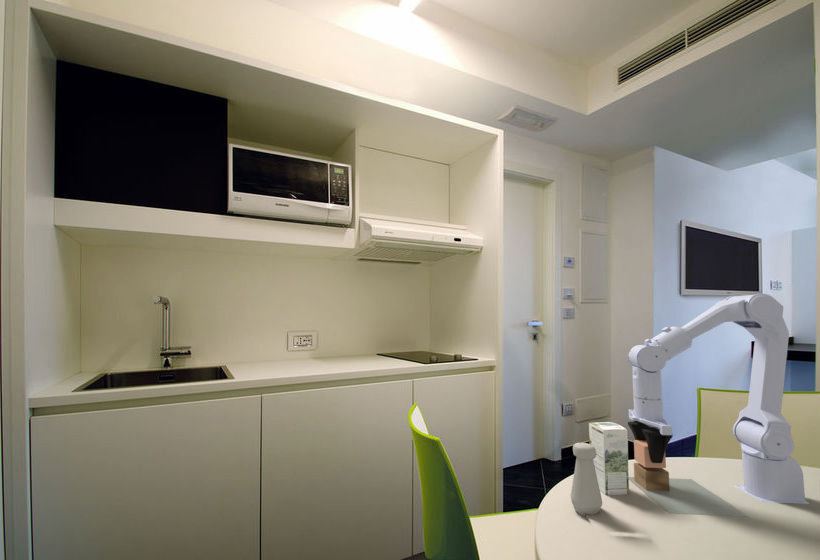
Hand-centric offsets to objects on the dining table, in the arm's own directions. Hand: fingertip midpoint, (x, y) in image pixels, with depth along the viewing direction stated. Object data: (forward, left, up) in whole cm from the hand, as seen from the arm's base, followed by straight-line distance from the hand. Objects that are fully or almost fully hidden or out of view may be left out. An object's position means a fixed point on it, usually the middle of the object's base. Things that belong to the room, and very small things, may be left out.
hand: (650, 458), depth 88 cm
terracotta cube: (0, 0, -1) cm, 1 cm away
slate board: (-4, +4, -7) cm, 9 cm away
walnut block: (0, 0, -6) cm, 6 cm away
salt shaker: (+19, +12, -7) cm, 23 cm away
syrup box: (+10, +2, -7) cm, 13 cm away
